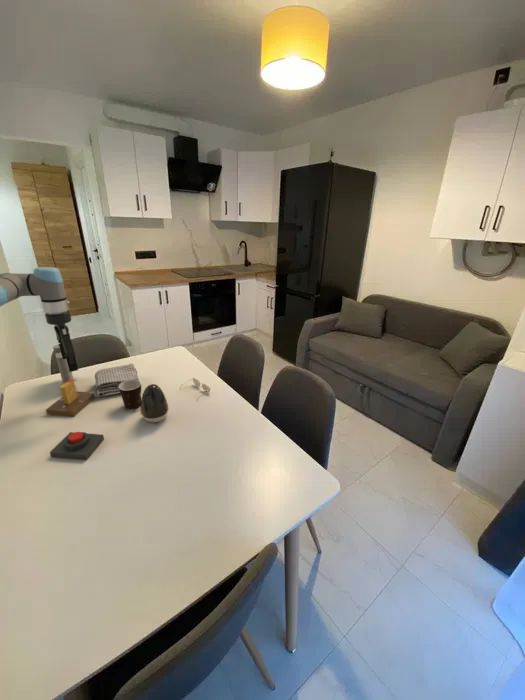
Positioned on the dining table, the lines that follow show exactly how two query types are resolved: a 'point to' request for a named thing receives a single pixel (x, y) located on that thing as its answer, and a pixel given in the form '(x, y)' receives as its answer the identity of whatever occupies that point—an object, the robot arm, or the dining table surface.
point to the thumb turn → (68, 392)
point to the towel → (113, 379)
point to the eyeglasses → (199, 385)
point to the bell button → (76, 437)
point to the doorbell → (77, 447)
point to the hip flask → (62, 365)
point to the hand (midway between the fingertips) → (70, 364)
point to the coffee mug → (131, 393)
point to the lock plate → (70, 405)
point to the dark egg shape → (154, 404)
